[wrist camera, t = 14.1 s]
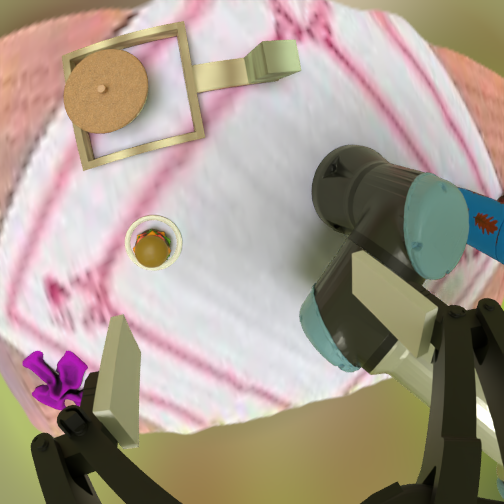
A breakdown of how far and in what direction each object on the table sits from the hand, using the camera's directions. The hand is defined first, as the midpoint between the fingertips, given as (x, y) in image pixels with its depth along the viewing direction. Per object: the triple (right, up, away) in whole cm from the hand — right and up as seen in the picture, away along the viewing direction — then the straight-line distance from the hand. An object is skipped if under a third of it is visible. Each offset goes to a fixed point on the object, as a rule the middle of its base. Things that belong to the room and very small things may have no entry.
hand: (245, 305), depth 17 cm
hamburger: (-15, +5, +31) cm, 34 cm away
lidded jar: (-19, +25, +20) cm, 37 cm away
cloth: (-38, -24, +36) cm, 58 cm away
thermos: (+45, +12, +42) cm, 63 cm away
